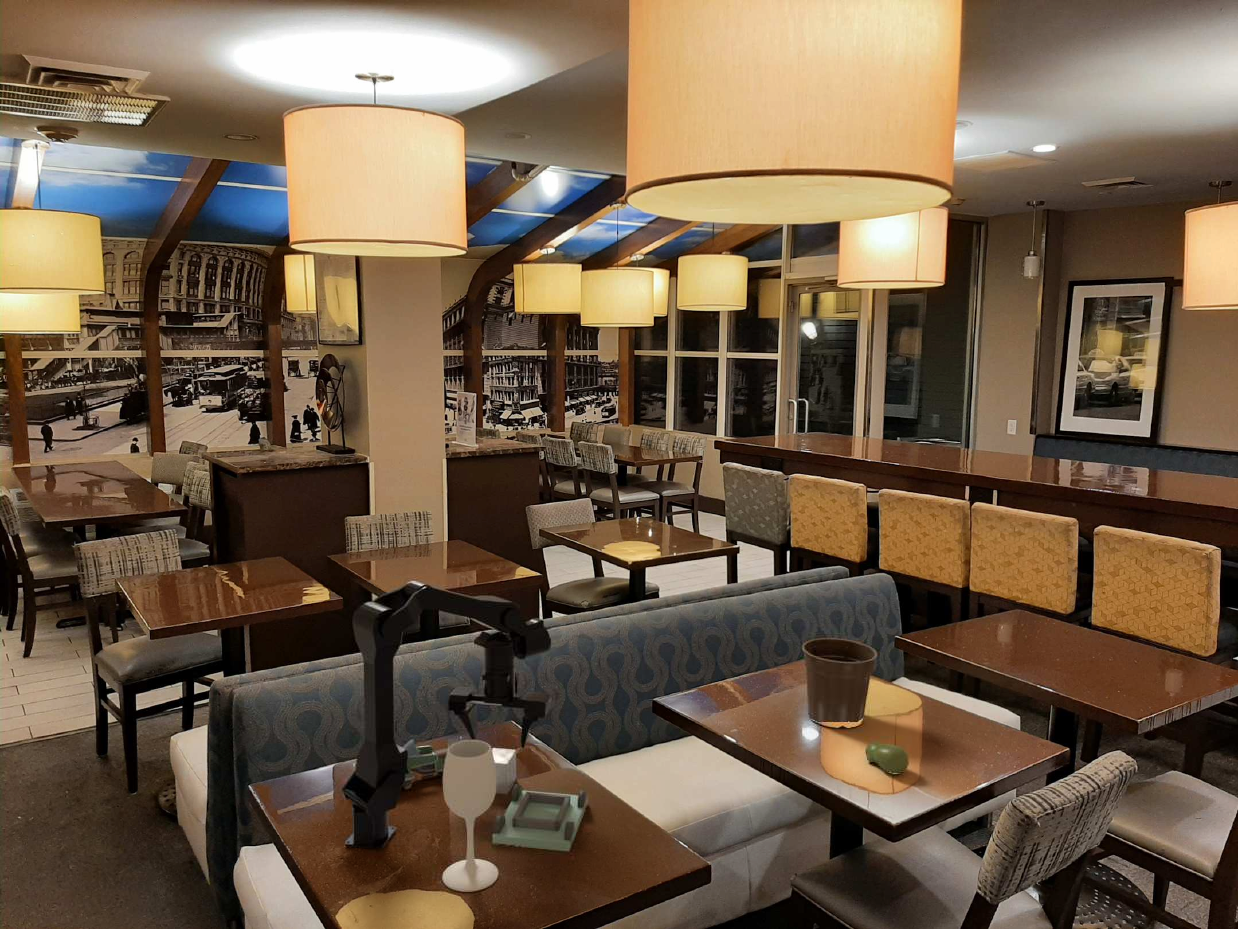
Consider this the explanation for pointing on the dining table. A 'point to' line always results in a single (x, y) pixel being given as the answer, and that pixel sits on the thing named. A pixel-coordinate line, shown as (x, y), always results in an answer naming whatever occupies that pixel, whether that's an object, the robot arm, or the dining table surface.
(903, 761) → the pear
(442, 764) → the hoverbike
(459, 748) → the wineglass
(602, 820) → the dining table surface
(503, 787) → the white block
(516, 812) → the chassis
